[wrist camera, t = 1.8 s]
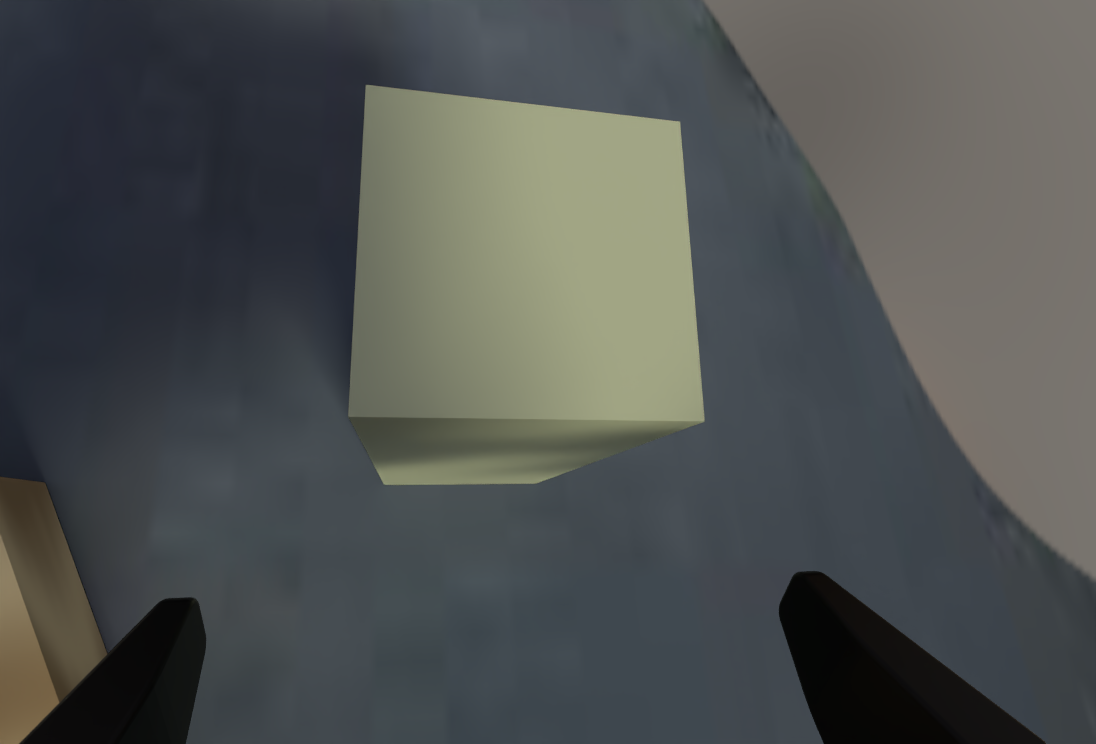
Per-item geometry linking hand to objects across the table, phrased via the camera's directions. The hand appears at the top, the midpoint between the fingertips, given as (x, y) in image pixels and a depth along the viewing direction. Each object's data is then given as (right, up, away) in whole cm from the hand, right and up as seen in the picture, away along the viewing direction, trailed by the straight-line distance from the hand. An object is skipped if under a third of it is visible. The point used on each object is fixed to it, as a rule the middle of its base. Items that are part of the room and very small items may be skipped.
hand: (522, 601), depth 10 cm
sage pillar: (-3, +2, +12) cm, 13 cm away
